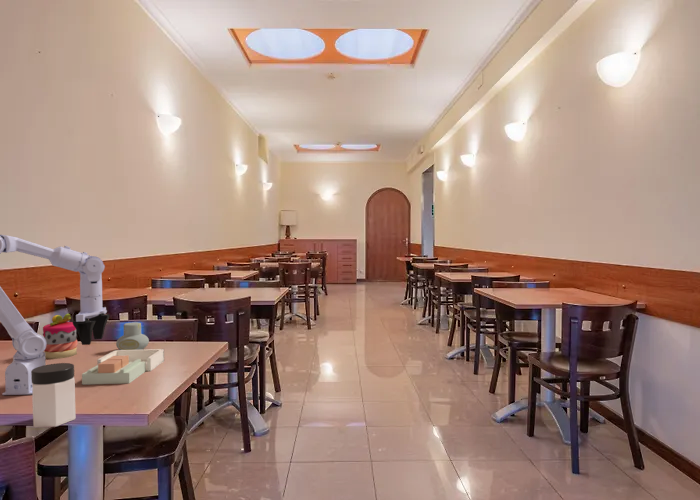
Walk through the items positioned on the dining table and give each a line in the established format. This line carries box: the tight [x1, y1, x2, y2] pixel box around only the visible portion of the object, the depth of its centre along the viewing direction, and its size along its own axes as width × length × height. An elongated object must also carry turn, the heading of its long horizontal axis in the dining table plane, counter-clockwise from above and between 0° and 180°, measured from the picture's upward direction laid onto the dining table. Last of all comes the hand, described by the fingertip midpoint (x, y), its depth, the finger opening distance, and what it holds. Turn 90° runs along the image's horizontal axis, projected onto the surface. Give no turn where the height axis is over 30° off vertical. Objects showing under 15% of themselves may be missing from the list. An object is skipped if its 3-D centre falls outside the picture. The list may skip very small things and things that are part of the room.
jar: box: [31, 362, 76, 429], centre depth 104 cm, size 9×8×12 cm
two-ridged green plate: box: [81, 359, 147, 386], centre depth 136 cm, size 12×13×4 cm
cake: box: [42, 313, 79, 360], centre depth 164 cm, size 10×11×15 cm
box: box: [96, 348, 165, 372], centre depth 148 cm, size 12×16×4 cm
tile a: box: [98, 360, 122, 373], centre depth 133 cm, size 4×4×2 cm
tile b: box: [107, 355, 129, 368], centre depth 138 cm, size 4×4×2 cm
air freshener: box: [115, 321, 150, 350], centre depth 170 cm, size 11×8×10 cm
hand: (92, 341), depth 138 cm, fingers open, 7 cm apart
